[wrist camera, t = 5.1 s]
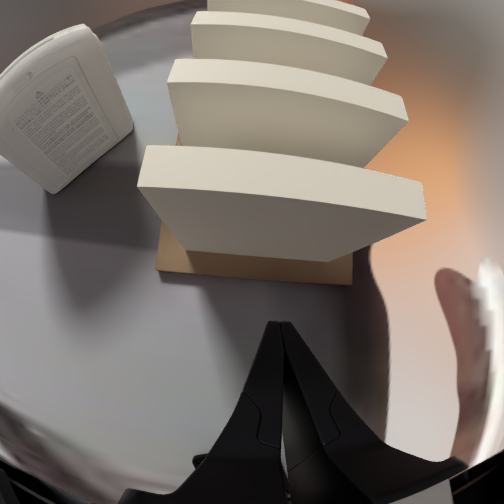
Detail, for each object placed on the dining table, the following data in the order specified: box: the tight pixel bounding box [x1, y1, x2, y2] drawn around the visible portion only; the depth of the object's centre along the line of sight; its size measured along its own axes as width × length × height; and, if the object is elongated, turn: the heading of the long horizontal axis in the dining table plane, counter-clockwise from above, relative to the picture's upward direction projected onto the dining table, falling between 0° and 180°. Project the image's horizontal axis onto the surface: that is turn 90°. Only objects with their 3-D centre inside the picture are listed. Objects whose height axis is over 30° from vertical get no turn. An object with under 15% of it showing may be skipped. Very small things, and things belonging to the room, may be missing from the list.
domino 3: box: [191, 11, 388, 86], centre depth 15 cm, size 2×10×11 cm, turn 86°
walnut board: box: [155, 134, 353, 285], centre depth 21 cm, size 24×14×1 cm, turn 176°
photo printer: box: [0, 24, 133, 194], centre depth 14 cm, size 10×4×12 cm, turn 131°
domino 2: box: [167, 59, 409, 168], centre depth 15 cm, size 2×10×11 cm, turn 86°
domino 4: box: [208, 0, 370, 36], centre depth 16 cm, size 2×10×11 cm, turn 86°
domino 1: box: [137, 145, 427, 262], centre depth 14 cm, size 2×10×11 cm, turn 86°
